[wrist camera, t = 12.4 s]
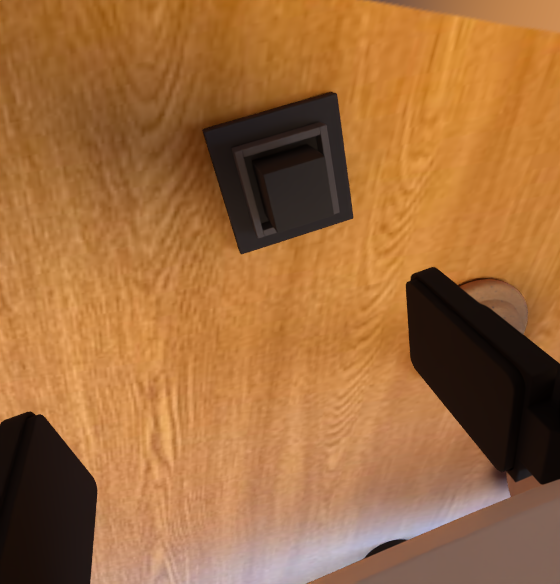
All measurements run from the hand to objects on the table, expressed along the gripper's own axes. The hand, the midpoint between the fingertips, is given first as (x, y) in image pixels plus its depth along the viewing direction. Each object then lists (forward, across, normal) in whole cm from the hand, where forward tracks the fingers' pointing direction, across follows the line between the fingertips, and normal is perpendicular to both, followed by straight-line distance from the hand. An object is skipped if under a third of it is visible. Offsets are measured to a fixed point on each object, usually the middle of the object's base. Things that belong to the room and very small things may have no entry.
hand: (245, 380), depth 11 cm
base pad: (+22, -7, +3) cm, 23 cm away
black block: (+21, -7, +3) cm, 22 cm away
